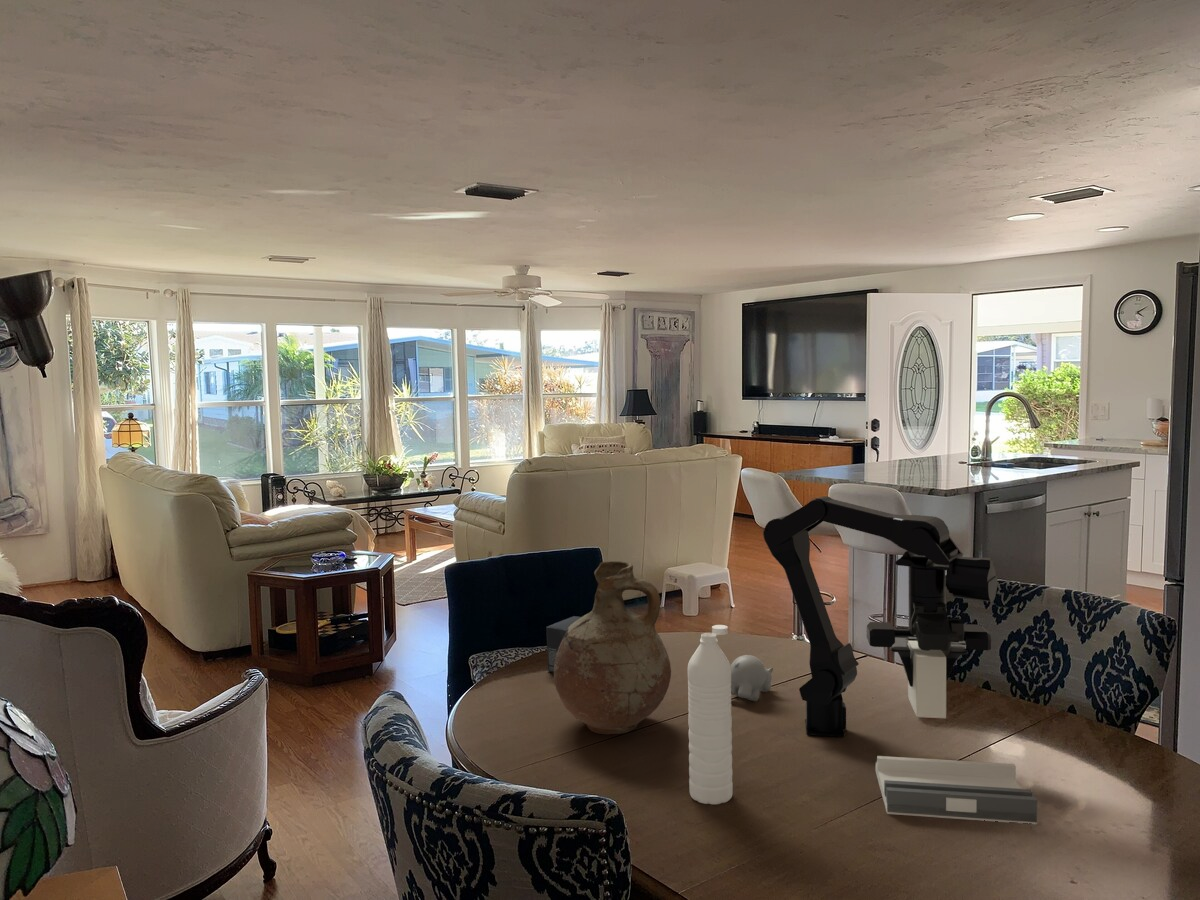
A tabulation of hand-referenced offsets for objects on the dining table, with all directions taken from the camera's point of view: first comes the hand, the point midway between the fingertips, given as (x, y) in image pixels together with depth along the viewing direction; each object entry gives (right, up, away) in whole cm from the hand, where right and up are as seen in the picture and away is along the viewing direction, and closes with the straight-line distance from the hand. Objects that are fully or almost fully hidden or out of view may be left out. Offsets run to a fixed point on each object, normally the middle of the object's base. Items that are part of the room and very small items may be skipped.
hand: (926, 686), depth 143 cm
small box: (-61, -10, +50) cm, 79 cm away
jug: (-52, -12, +16) cm, 56 cm away
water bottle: (-37, -13, -11) cm, 41 cm away
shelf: (-2, -13, -14) cm, 19 cm away
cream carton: (0, -4, 0) cm, 4 cm away
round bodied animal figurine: (-24, -10, +29) cm, 39 cm away
